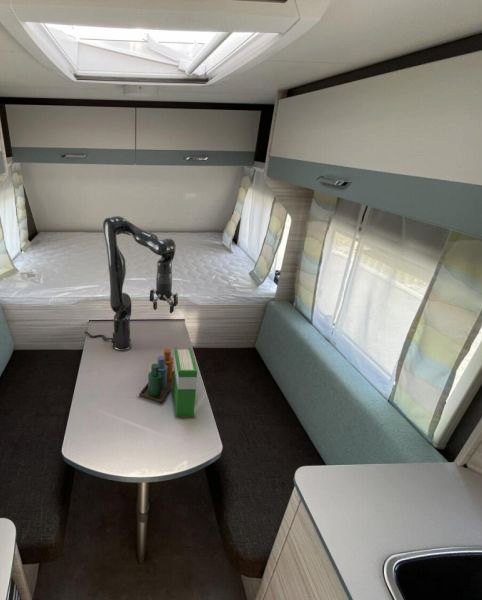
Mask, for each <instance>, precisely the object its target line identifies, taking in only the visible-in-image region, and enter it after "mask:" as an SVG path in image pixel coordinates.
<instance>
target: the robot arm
mask: <svg viewBox="0 0 482 600" xmlns="http://www.w3.org/2000/svg"><path fill="white" fill-rule="evenodd" d="M102 231H103V237H104V242H105V248H106V255H107V267H108V276H109V290H110V292H109V299H110V300H109V304H110V308H111V310H112V311H113V312H114V313H115V314H114V315H113V332H112V337H105V335H104V334H96V335H92V334H90V333H89V332H88V331H85V332H84V334H87V336H89V337H90V338H98V337H102V338H103V340H104V341H109V340H110V341H111V342H110V343H112V347H113V348H114V349H115V350H116V351H120V352H125V351H128V350H130V348H131V342H132V339H131V316H132V299H131V296H130V295H129V294H128V293H126V292H123V287H124V283H125V278H126V275H127V263H126V258H125V256H124V254H123V252H122V251H121V250H120V248H119V246H118V240H117V239H118V238H117V236H119V235H126V236H129V237H131V238H132V239H133V240H134V241H135V242H136V243H137V244H138V245H140V246H142V247H144V248H147V249H149V250H150V251H151V252H153V253H154V254H155V255H157V256H159V257H160V259H158V260H157V263H156V276H155V289H154V288H152V289H151V290H150V291H149V302H152V308H153V310H154V311H156V310H157V309H158V300H160V301H163V302H166V303H167V304H168V305H169V314H172V313H173V312H174V311H175V307H177V306H178V304H179V294H178V293H177V292H175V293H173V292H172V291H173V290H172V288H173V261H174V258H175V254H176V248H177V247H176V243H175V241H174V239H173V238H170V237H168V238H164V239H159V237H158V236H157V234H155V233H152V232H149V231H148V230H145V229H143V228H140V227H139V226H137V225H135V224H134V223H132V222H130V221H129V220H127V219H126V218H124V217H122V216H120V215H115V216H110V217H106V218H105V219H103V222H102ZM155 295H156V297H155Z"/></svg>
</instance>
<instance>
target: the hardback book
mask: <svg viewBox="0 0 482 600" xmlns="http://www.w3.org/2000/svg"><path fill="white" fill-rule="evenodd" d="M173 371H174V372H173V387H172V394H173V395H172V396H173V402H174V408H175V416H176V417H190V418H194V416H195V404H196V391H197V382H198V381H197V379H198V367H197V364H196V361H195V357H194V353H193V350H192V347H188V349H178V348H177V347H174V354H173Z"/></svg>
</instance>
